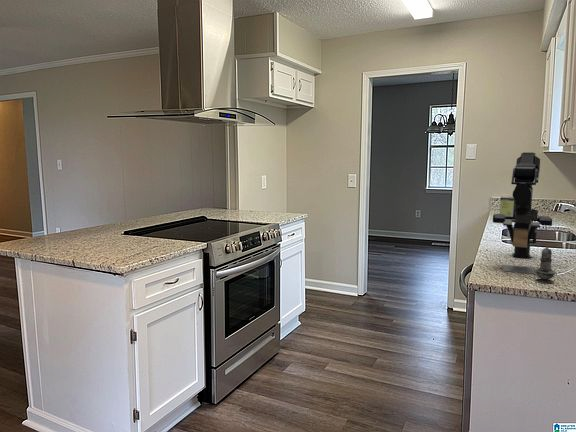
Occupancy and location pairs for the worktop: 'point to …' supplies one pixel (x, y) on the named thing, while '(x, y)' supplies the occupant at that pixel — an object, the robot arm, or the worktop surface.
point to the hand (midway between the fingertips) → (519, 243)
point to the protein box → (507, 206)
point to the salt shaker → (545, 267)
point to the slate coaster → (518, 269)
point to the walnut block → (520, 237)
